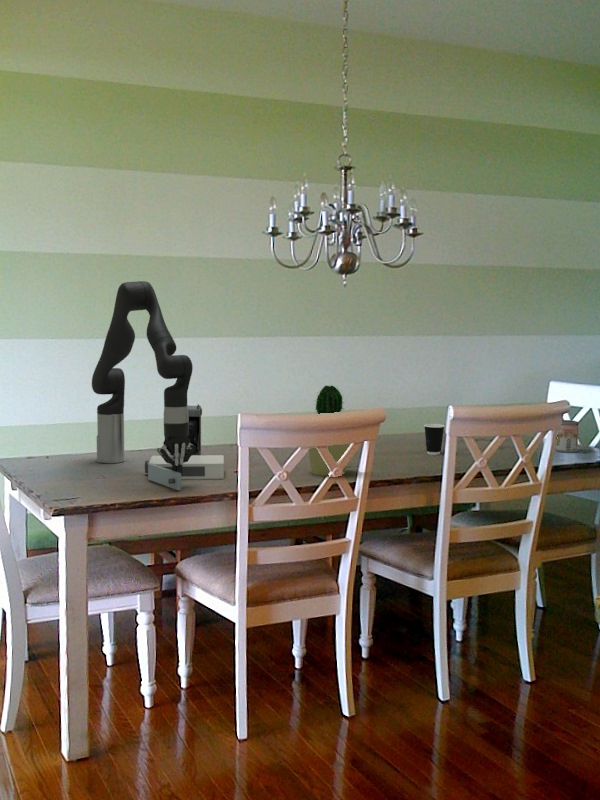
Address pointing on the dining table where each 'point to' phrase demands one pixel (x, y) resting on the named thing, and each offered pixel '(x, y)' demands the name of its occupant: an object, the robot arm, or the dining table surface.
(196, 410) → the vintage camera
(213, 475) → the white flat box
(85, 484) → the dining table surface
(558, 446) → the house shaped jar
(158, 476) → the side door
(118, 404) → the robot arm
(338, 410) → the potted cactus
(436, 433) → the dixie cup
